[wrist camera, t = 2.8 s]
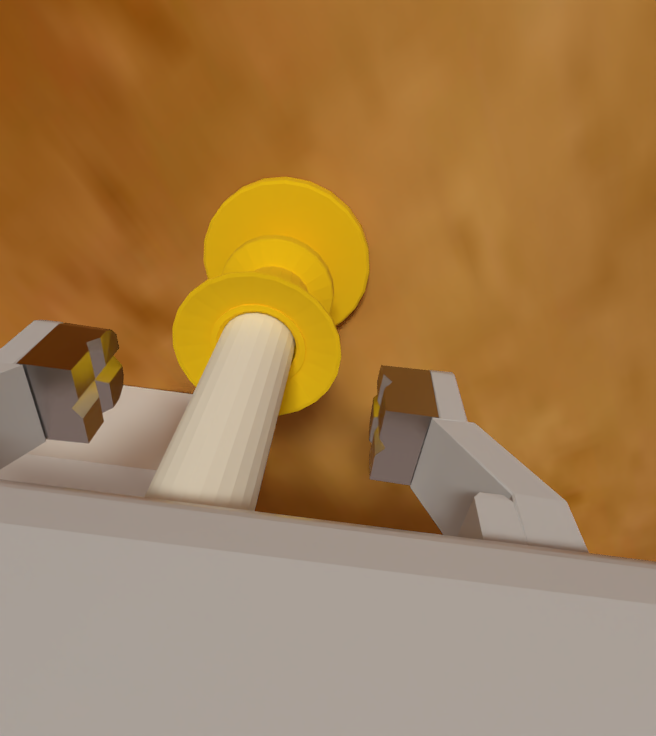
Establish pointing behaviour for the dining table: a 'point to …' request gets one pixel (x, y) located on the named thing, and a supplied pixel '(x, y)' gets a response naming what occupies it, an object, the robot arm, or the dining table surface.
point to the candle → (259, 333)
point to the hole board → (109, 447)
